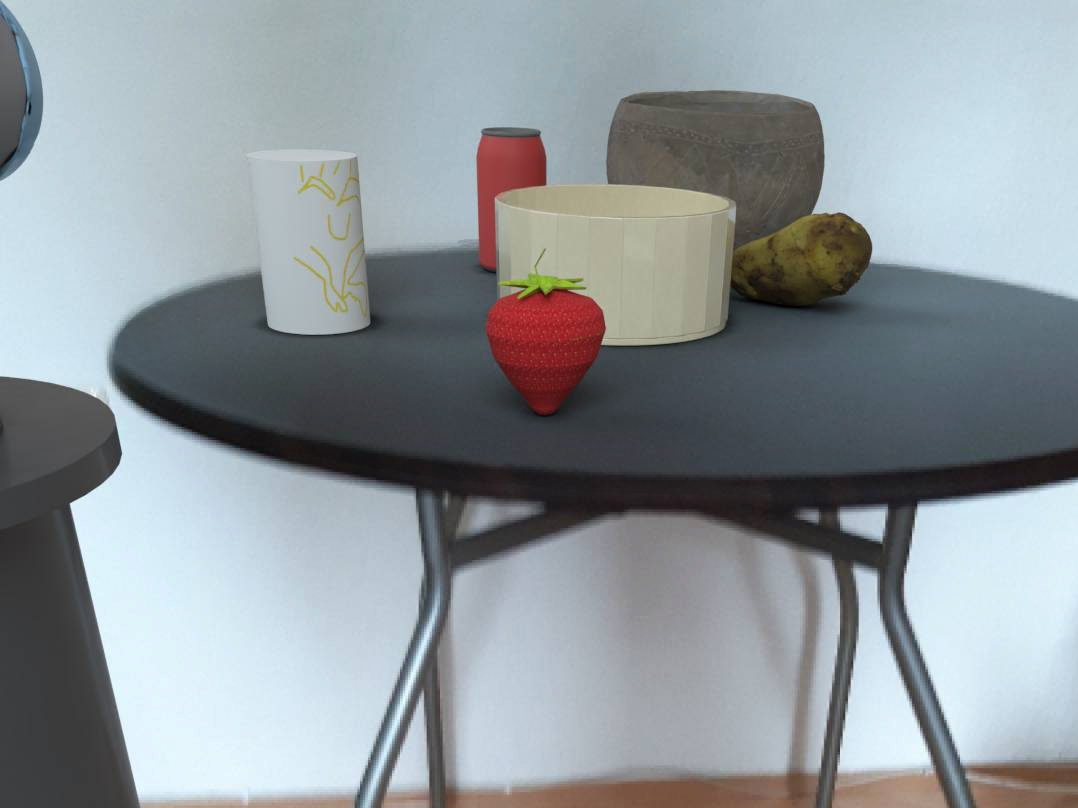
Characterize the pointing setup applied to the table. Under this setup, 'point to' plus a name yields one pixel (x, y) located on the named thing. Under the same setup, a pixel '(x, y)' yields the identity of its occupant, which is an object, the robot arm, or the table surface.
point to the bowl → (723, 152)
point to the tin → (625, 254)
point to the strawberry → (545, 338)
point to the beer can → (504, 176)
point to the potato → (803, 261)
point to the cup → (310, 240)
